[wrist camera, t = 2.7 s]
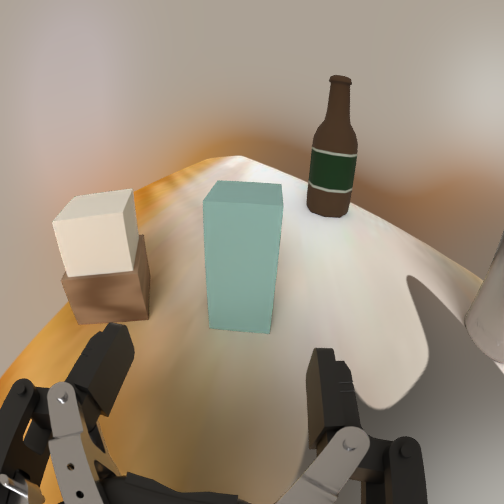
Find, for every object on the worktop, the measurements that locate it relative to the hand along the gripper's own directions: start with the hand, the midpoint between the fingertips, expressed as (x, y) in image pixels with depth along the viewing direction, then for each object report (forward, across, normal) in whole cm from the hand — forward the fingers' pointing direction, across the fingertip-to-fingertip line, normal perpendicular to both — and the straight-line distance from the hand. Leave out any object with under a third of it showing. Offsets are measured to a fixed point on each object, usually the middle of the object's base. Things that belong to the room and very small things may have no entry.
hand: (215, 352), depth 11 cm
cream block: (+11, +12, +3) cm, 17 cm away
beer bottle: (+39, -12, +7) cm, 42 cm away
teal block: (+11, 0, +8) cm, 14 cm away
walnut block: (+11, +12, +8) cm, 18 cm away
